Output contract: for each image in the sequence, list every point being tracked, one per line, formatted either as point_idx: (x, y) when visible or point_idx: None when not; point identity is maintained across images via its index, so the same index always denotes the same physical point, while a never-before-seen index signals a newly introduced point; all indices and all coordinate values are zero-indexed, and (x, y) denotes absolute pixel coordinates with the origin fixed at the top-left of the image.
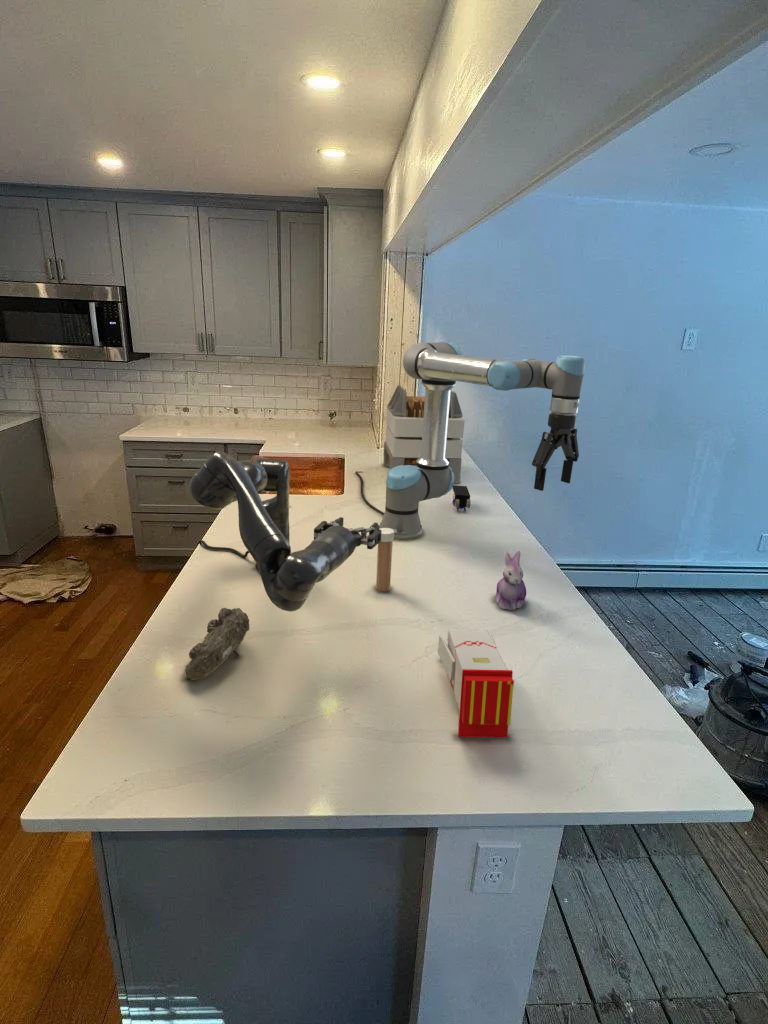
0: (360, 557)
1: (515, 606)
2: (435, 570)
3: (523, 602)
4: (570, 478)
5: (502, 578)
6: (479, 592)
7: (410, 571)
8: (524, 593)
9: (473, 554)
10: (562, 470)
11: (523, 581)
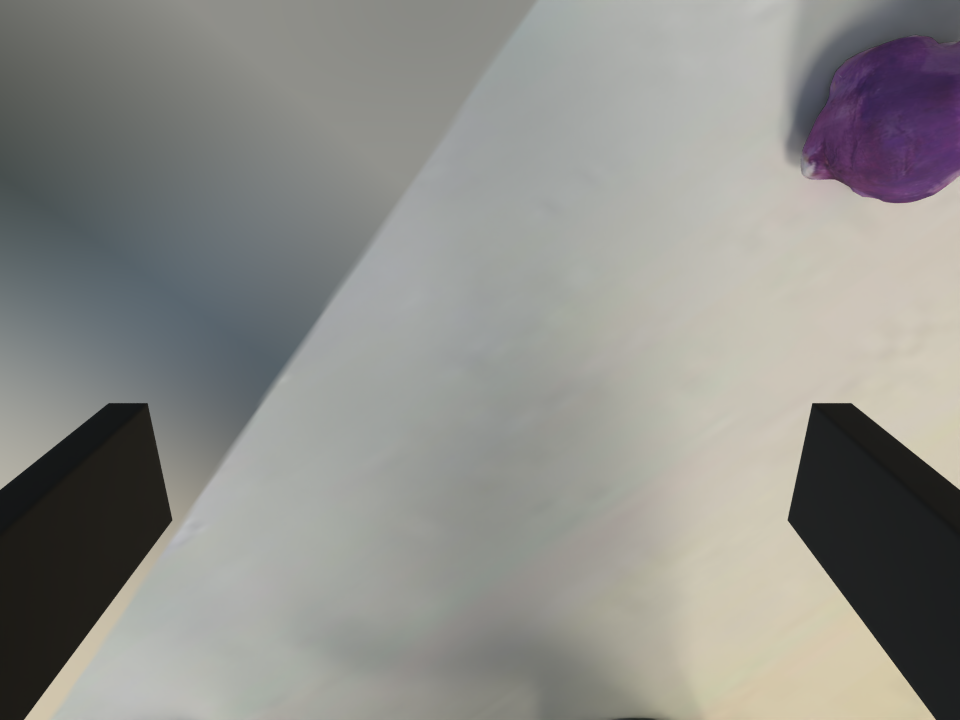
0: None
1: (946, 44)
2: None
3: (868, 50)
4: (70, 438)
5: (940, 181)
6: (887, 263)
7: None
8: (921, 36)
9: (567, 515)
10: (77, 642)
11: (880, 90)
